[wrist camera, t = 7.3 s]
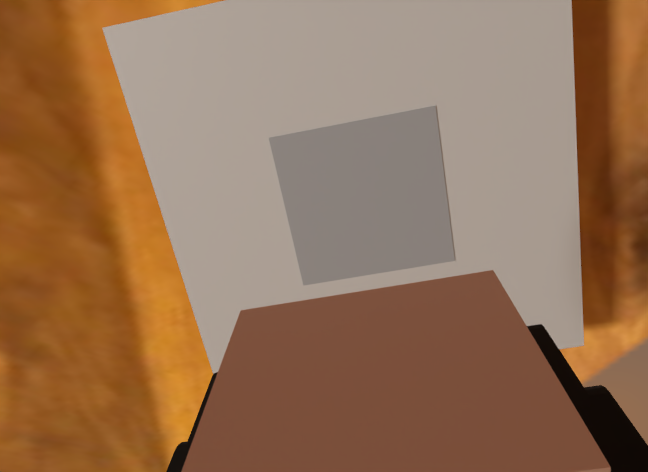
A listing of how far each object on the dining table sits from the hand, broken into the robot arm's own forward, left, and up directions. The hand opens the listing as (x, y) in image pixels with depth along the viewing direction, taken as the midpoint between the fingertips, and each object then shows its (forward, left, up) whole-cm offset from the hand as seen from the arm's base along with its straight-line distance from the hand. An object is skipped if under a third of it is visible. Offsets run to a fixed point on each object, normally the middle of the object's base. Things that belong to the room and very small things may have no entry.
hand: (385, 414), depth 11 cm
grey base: (0, 0, -17) cm, 17 cm away
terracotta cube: (0, 0, -1) cm, 1 cm away
